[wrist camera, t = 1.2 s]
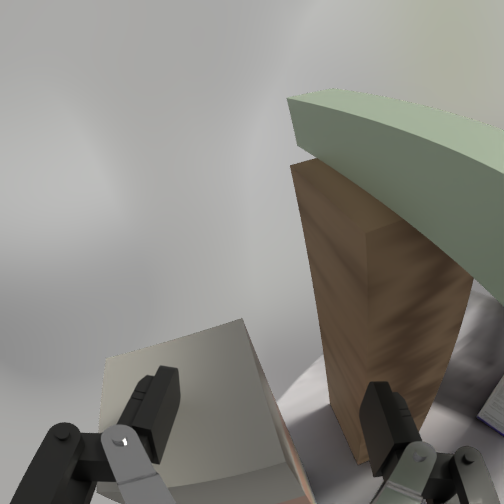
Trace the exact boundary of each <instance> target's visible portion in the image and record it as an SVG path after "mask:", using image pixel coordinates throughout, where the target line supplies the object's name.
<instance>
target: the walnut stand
mask: <svg viewBox="0 0 504 504" xmlns="http://www.w3.org/2000/svg"><path fill="white" fill-rule="evenodd" d="M290 168H291V173H292V177H293V182H294V187H295V192H296V197H297V202H298V206H299V211H300V217H301V222H302V227H303V232H304V237H305V243H306V248H307V254H308V259H309V265H310V271H311V276H312V282H313V288H314V294H315V300H316V306H317V313H318V319H319V326H320V332H321V339H322V345H323V353H324V360H325V367H326V375H327V383H328V391H329V399H330V404H331V407H332V409H333V411H334V413H335V415H336V418H337V420H338V422H339V424H340V426H341V429H342V431H343V433H344V435H345V438H346V440H347V442H348V444H349V447H350V449H351V451H352V453H353V455H354V458H355V460H356V462H357V464H358V465H359V464H361V463H364V462H366V461H368V460H369V456H368V452H367V447H366V443H365V439H364V435H363V431H362V427H361V423H360V419H359V409H360V405H361V403H362V400H363V398H364V395H365V392H366V389H367V387H368V384H369V383H370V382H371V381H387V382H388V383H389V385H390V387H391V390H392V392H398V393H399V394H400V395H401V396H402V397H403V398H404V399H405V401H406V403H407V405H408V408H409V409H408V410H410V412H411V417H413V420H414V422H415V424H416V427H417V429H418V432H419V430H420V428H421V426H422V424H423V422H424V420H425V418H426V416H427V414H428V412H429V409H430V407H431V405H432V403H433V400H434V398H435V396H436V393H437V391H438V389H439V386H440V384H441V381H442V379H443V376H444V374H445V371H446V368H447V366H448V363H449V360H450V358H451V355H452V352H453V349H454V346H455V343H456V340H457V337H458V334H459V331H460V327H461V324H462V321H463V317H464V314H465V310H466V307H467V303H468V299H469V295H470V291H471V287H472V283H473V279H474V278H473V277H472V276H471V275H470V274H469V273H468V272H467V271H466V270H464V269H463V268H462V267H461V266H460V265H459V264H458V263H457V262H455V261H454V260H453V259H452V258H451V257H450V256H448V255H447V254H446V253H445V252H444V251H443V250H441V249H440V248H439V247H438V246H437V245H435V244H434V243H433V242H432V241H431V240H429V239H428V238H427V237H426V236H424V235H423V234H422V233H421V232H419V231H418V230H417V229H416V228H414V227H413V226H412V225H411V224H409V223H408V222H407V221H405V220H404V219H403V218H402V217H400V216H399V215H398V214H396V213H395V212H394V211H392V210H391V209H390V208H388V207H387V206H386V205H384V204H383V203H382V202H380V201H379V200H378V199H376V198H375V197H373V196H372V195H371V194H369V193H368V192H366V191H365V190H364V189H362V188H361V187H359V186H358V185H357V184H355V183H354V182H352V181H351V180H349V179H348V178H346V177H345V176H343V175H342V174H341V173H339V172H338V171H336V170H335V169H333V168H332V167H330V166H329V165H327V164H325V163H324V162H322V161H321V160H319V159H318V158H315V159H312V160H308V161H304V162H301V163H297V164H294V165H290Z"/></svg>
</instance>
